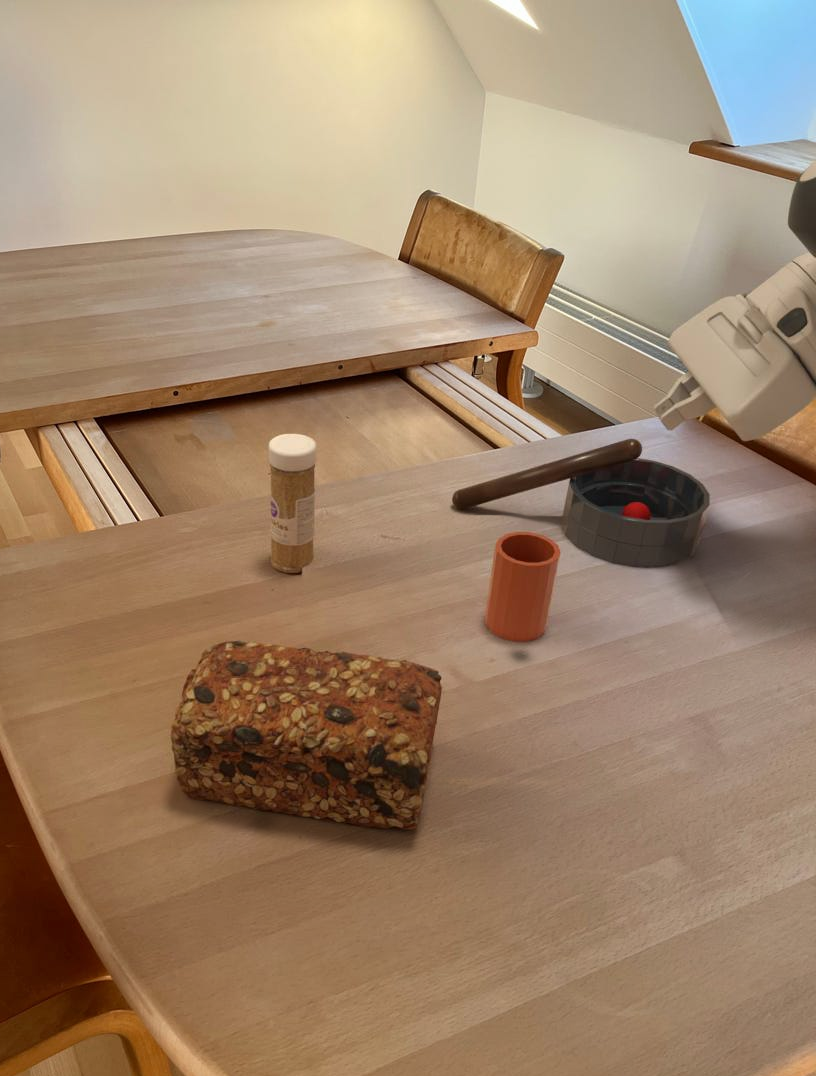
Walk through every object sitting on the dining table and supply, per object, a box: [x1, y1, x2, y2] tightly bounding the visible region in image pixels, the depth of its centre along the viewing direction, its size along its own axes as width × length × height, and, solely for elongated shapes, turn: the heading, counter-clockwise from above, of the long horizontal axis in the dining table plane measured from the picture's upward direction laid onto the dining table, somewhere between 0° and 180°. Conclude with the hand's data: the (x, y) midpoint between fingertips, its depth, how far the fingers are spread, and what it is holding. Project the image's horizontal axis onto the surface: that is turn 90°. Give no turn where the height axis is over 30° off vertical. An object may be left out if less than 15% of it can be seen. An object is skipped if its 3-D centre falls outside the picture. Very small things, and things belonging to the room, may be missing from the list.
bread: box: [170, 639, 443, 830], centre depth 72 cm, size 19×11×10 cm, turn 78°
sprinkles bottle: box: [267, 433, 318, 574], centre depth 95 cm, size 5×5×13 cm
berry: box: [622, 502, 651, 520], centre depth 104 cm, size 3×3×3 cm
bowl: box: [560, 457, 711, 569], centre depth 103 cm, size 14×14×6 cm
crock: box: [484, 531, 561, 643], centre depth 88 cm, size 6×6×9 cm
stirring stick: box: [451, 438, 643, 510], centre depth 103 cm, size 2×2×21 cm
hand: (660, 419), depth 95 cm, fingers closed
